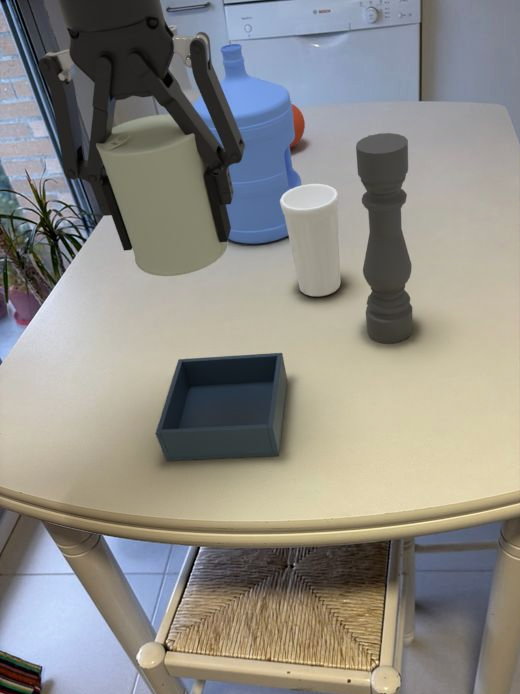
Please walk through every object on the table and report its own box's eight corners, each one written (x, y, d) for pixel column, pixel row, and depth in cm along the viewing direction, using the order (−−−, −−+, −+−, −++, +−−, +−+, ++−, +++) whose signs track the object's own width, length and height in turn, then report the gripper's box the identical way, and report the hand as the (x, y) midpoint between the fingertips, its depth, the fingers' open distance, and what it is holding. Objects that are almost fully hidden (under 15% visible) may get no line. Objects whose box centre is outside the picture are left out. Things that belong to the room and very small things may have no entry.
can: (119, 256, 65) (74, 134, 57) (194, 221, 69) (163, 101, 61) (167, 287, 60) (125, 157, 51) (246, 247, 64) (219, 120, 55)
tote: (166, 461, 75) (155, 433, 72) (187, 386, 84) (178, 359, 81) (279, 455, 73) (272, 427, 70) (287, 380, 83) (282, 352, 80)
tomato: (253, 147, 141) (244, 98, 134) (296, 135, 143) (289, 86, 136) (270, 162, 134) (262, 111, 127) (315, 149, 136) (309, 98, 129)
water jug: (246, 256, 107) (206, 71, 88) (204, 224, 117) (161, 51, 98) (324, 223, 112) (303, 42, 93) (278, 195, 122) (251, 26, 103)
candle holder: (375, 314, 91) (364, 131, 74) (418, 319, 89) (416, 133, 72) (361, 340, 87) (345, 153, 70) (405, 346, 85) (401, 155, 68)
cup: (358, 283, 97) (350, 192, 87) (319, 308, 94) (307, 216, 84) (320, 267, 102) (309, 178, 92) (282, 290, 98) (267, 200, 88)
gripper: (247, -68, 49) (289, 211, 65) (-19, -32, 51) (84, 230, 67) (234, -51, 44) (283, 249, 60) (-62, -12, 46) (60, 268, 62)
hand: (177, 239), depth 63 cm, fingers closed on can, 9 cm apart
